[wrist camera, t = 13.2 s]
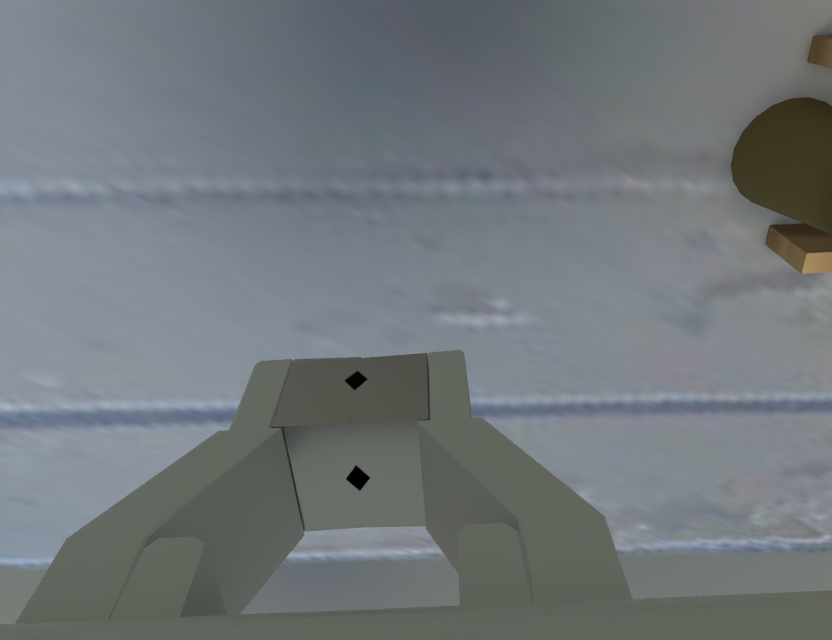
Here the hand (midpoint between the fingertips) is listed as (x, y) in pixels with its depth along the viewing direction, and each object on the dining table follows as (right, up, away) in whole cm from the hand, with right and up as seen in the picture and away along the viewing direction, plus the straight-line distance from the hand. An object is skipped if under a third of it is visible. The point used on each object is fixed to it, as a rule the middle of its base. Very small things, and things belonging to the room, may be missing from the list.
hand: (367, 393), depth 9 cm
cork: (+21, +10, +26) cm, 35 cm away
